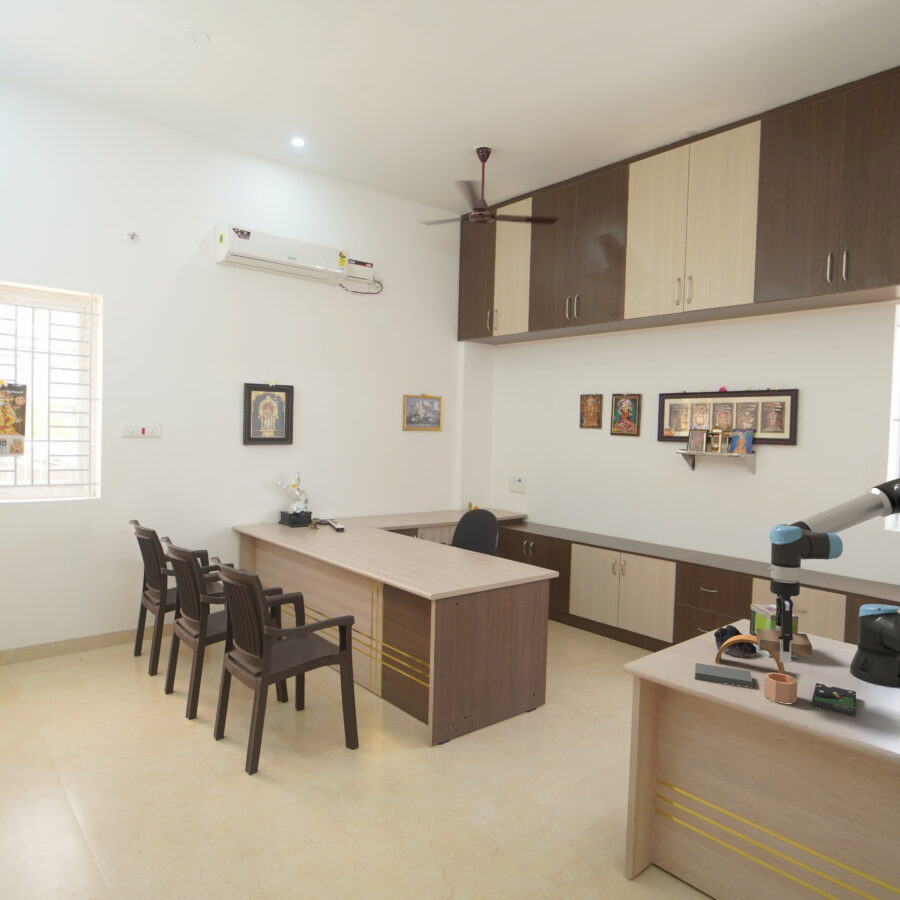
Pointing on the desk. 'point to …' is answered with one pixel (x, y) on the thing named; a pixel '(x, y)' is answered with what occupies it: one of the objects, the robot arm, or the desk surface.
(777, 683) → the plant pot
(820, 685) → the disk drive
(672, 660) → the desk surface
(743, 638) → the arch
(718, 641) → the crystal cluster
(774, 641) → the cover board
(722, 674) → the block
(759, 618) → the tea box
